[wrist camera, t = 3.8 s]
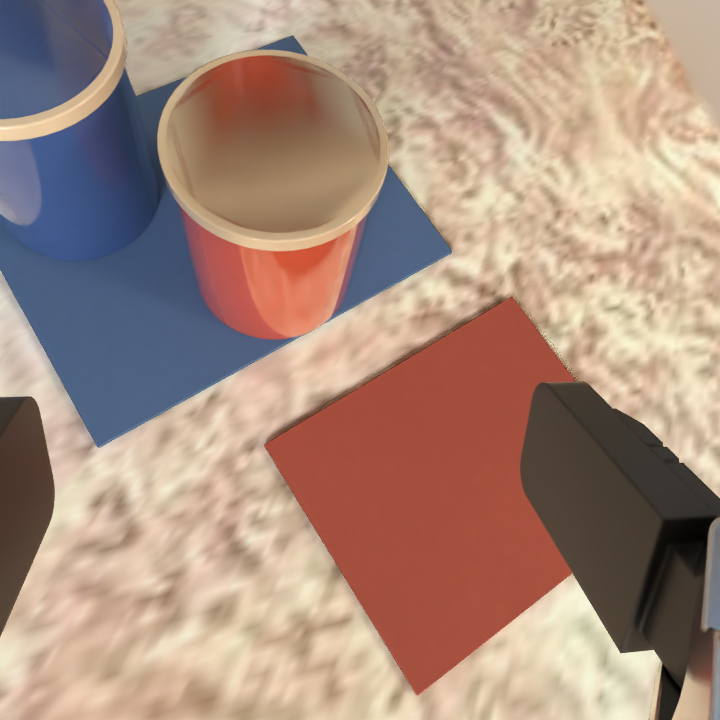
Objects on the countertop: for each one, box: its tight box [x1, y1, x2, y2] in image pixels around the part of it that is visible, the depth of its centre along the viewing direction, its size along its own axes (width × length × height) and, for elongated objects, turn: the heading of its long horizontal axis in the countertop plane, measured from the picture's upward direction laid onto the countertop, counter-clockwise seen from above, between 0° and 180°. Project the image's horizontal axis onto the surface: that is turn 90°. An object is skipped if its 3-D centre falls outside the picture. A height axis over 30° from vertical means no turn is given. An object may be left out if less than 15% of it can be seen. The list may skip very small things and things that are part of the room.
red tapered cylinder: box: [157, 50, 389, 340], centre depth 22 cm, size 7×7×8 cm
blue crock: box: [0, 0, 160, 261], centre depth 22 cm, size 7×7×8 cm
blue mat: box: [0, 36, 452, 447], centre depth 26 cm, size 16×13×1 cm
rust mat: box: [264, 297, 576, 695], centre depth 24 cm, size 12×10×1 cm
